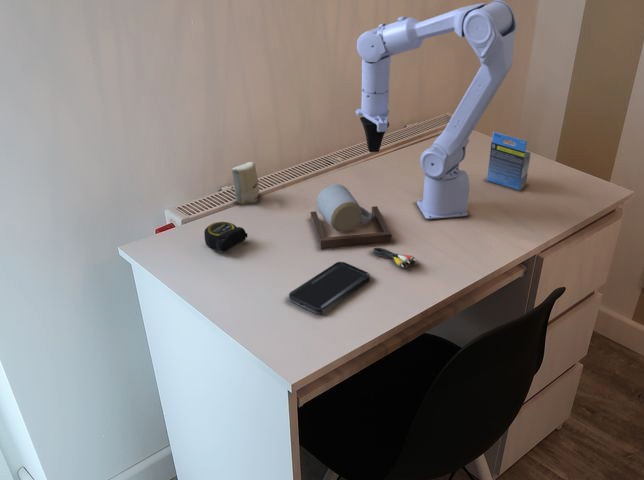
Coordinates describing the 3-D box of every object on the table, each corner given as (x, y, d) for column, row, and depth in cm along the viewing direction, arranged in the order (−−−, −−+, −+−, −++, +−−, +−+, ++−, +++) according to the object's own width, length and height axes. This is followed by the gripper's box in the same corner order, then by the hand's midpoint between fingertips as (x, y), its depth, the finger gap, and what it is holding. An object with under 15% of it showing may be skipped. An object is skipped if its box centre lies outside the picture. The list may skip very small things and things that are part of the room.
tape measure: (223, 258, 138) (221, 241, 136) (198, 247, 141) (195, 230, 139) (248, 244, 143) (247, 227, 141) (223, 233, 146) (221, 216, 143)
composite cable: (370, 253, 142) (370, 242, 141) (388, 245, 145) (388, 235, 143) (403, 275, 137) (403, 263, 135) (421, 266, 139) (422, 255, 138)
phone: (372, 274, 134) (319, 310, 124) (372, 279, 135) (320, 316, 125) (339, 260, 137) (285, 294, 127) (339, 265, 138) (286, 299, 128)
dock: (376, 214, 155) (377, 206, 154) (391, 242, 146) (391, 234, 145) (310, 220, 152) (310, 211, 150) (320, 249, 143) (320, 240, 141)
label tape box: (526, 185, 170) (534, 135, 163) (519, 191, 167) (527, 141, 160) (493, 175, 174) (500, 126, 166) (485, 181, 171) (492, 131, 163)
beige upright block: (239, 192, 160) (236, 159, 155) (262, 194, 160) (260, 160, 155) (233, 204, 155) (230, 170, 150) (257, 206, 155) (254, 171, 150)
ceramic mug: (331, 237, 146) (331, 203, 142) (316, 219, 152) (315, 186, 147) (378, 228, 151) (380, 195, 146) (361, 211, 156) (362, 178, 152)
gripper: (349, 78, 155) (349, 139, 163) (364, 102, 144) (363, 166, 152) (381, 77, 156) (379, 137, 165) (398, 101, 145) (395, 163, 154)
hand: (373, 151), depth 159 cm, fingers closed
